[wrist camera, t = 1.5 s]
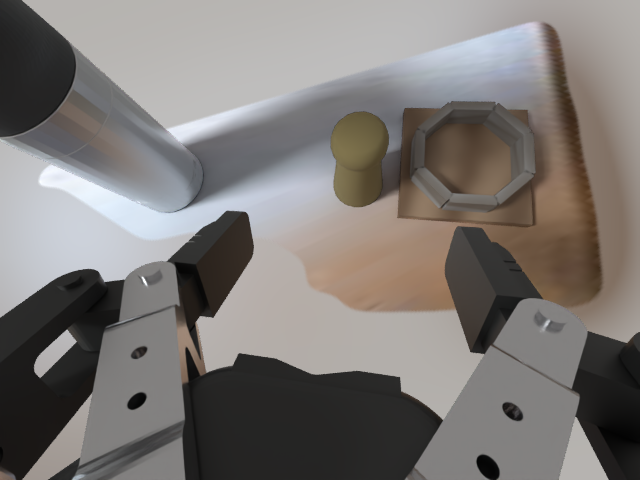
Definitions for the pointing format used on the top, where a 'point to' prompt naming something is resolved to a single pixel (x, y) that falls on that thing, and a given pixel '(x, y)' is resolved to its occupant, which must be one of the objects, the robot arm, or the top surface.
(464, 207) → the socket base
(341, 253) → the top surface
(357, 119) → the cork
